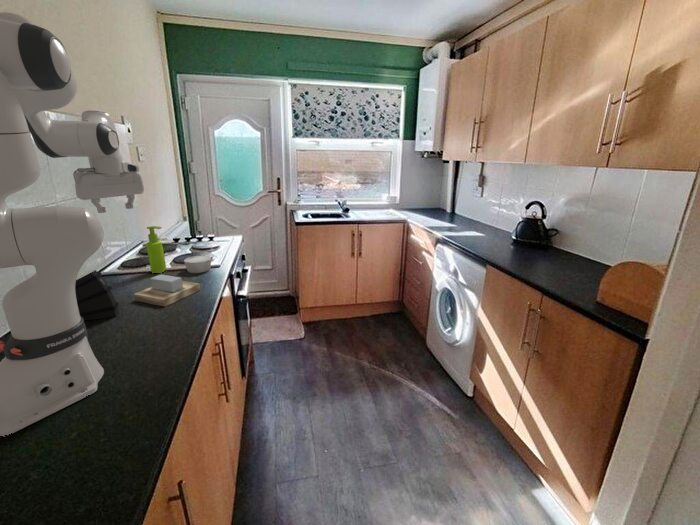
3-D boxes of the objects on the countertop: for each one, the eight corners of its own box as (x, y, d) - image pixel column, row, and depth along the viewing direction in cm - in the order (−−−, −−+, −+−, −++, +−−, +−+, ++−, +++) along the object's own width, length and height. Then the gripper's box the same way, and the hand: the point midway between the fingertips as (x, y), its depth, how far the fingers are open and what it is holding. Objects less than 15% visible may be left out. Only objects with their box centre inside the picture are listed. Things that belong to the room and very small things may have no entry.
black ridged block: (126, 311, 107) (92, 272, 101) (86, 332, 105) (49, 294, 99) (130, 306, 110) (97, 269, 104) (91, 327, 109) (56, 290, 103)
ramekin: (194, 265, 156) (193, 254, 155) (217, 266, 155) (216, 255, 153) (179, 273, 146) (178, 262, 144) (203, 275, 144) (202, 263, 143)
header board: (164, 306, 114) (162, 293, 112) (135, 300, 119) (132, 287, 117) (200, 289, 128) (198, 277, 127) (172, 284, 133) (170, 273, 131)
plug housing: (183, 288, 123) (181, 277, 122) (173, 292, 119) (171, 281, 118) (162, 284, 126) (160, 274, 125) (152, 288, 122) (150, 278, 121)
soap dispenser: (164, 273, 145) (156, 228, 139) (148, 273, 145) (140, 228, 139) (171, 269, 151) (164, 225, 145) (156, 269, 151) (148, 225, 145)
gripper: (79, 168, 98) (90, 216, 102) (143, 166, 116) (150, 206, 120) (65, 168, 100) (76, 214, 104) (129, 166, 118) (137, 206, 122)
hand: (116, 210), depth 112 cm, fingers open, 8 cm apart
